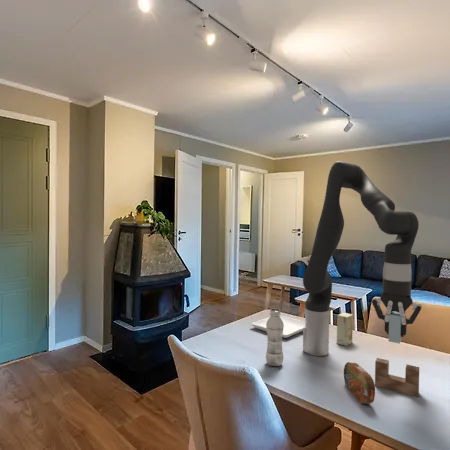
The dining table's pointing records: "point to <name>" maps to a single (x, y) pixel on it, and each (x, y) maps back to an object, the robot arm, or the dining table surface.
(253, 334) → the dining table surface
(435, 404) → the dining table surface
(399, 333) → the cross plate
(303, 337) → the robot arm
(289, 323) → the salad plate
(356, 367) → the tin
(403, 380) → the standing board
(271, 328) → the plastic bottle
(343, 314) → the skincare box
